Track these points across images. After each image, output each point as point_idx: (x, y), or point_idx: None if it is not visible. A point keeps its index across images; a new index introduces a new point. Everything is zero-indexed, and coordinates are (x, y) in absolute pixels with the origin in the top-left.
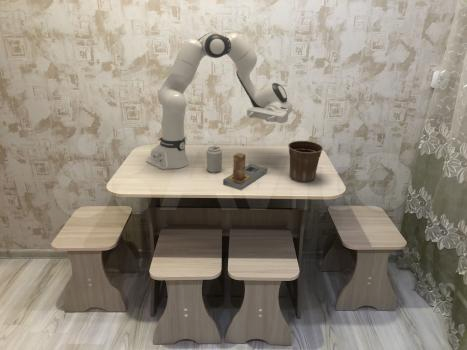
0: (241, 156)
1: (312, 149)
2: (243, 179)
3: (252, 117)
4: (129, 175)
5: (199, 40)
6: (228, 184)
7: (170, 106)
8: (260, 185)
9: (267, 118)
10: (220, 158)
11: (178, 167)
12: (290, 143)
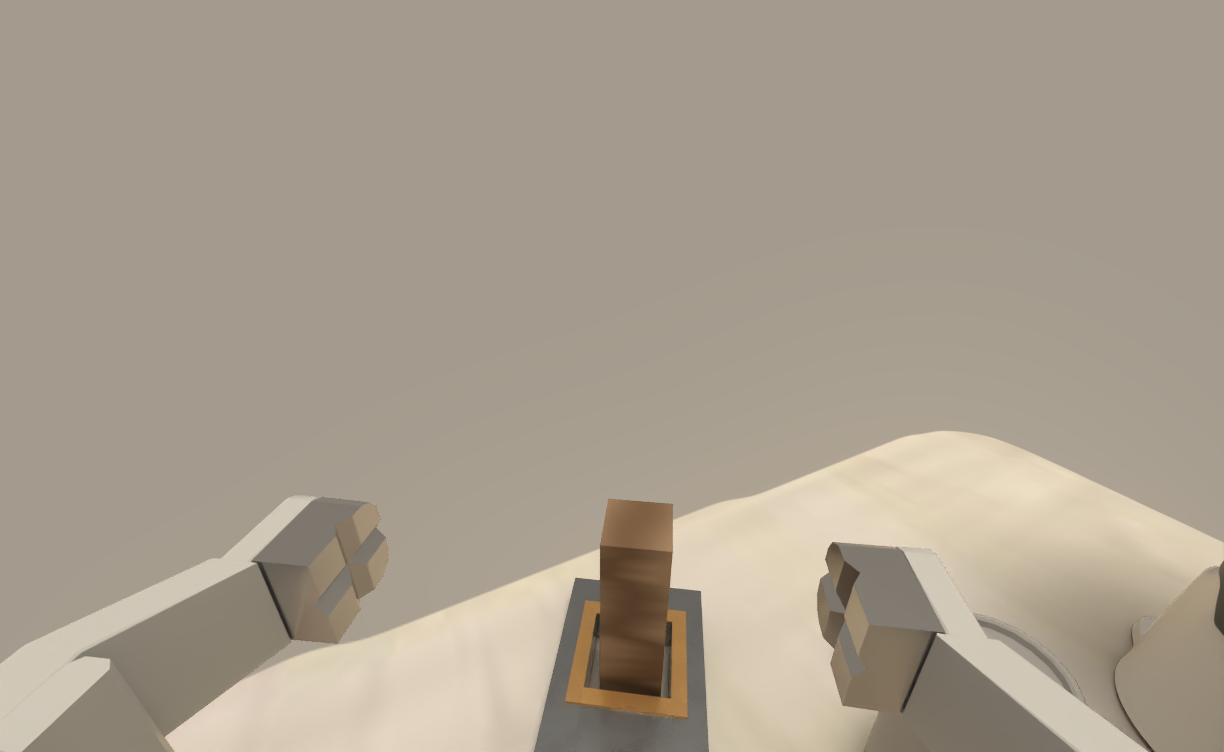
0: (609, 504)
1: None
2: (591, 638)
3: (836, 652)
4: (1103, 511)
5: None
6: None
7: None
8: (480, 704)
9: (342, 500)
10: (896, 715)
11: (1118, 680)
12: None
